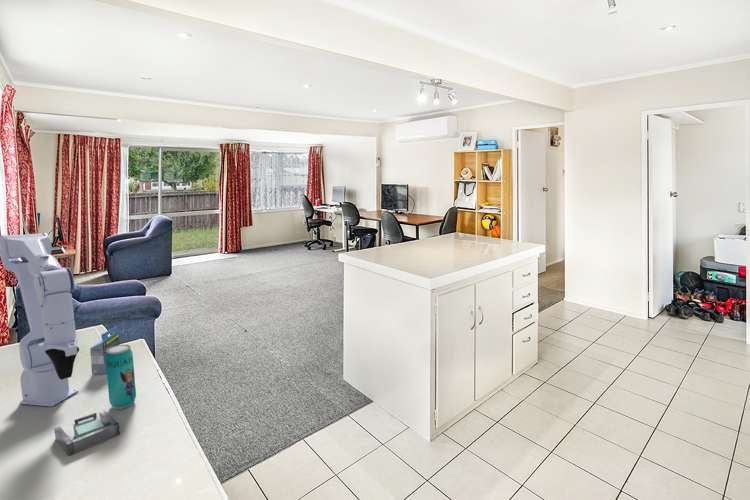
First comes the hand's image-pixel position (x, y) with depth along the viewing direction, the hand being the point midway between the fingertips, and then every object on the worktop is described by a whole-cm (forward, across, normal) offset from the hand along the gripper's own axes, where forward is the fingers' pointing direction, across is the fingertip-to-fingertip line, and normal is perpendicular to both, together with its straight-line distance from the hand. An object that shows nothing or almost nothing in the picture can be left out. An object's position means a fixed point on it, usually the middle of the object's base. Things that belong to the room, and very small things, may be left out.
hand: (65, 377), depth 94 cm
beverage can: (+11, +3, +10) cm, 15 cm away
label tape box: (+10, -24, +16) cm, 31 cm away
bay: (+11, +11, 0) cm, 15 cm away
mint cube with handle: (+11, +12, 0) cm, 16 cm away
